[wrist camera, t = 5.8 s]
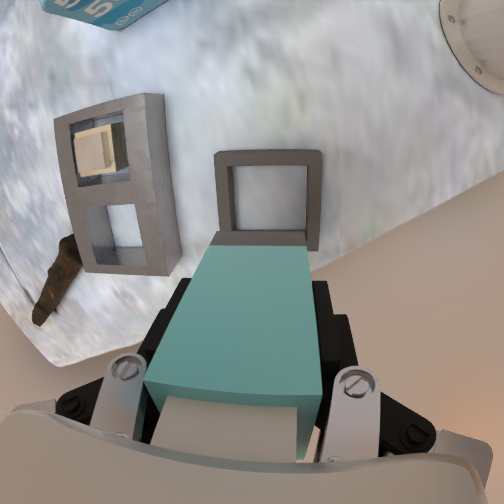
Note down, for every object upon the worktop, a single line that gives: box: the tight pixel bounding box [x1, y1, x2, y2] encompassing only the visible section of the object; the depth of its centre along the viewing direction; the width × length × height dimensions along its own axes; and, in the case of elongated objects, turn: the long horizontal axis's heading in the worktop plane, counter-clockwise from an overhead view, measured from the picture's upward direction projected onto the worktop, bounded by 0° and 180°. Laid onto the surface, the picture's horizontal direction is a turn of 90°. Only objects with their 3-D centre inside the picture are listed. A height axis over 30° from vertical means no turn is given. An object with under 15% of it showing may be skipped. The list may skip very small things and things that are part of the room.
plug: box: [143, 231, 322, 463], centre depth 10 cm, size 4×4×10 cm
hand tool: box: [32, 234, 83, 327], centre depth 31 cm, size 19×4×5 cm, turn 131°
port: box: [53, 93, 182, 276], centre depth 24 cm, size 10×16×5 cm, turn 3°
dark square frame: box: [214, 149, 322, 251], centre depth 24 cm, size 8×8×2 cm
